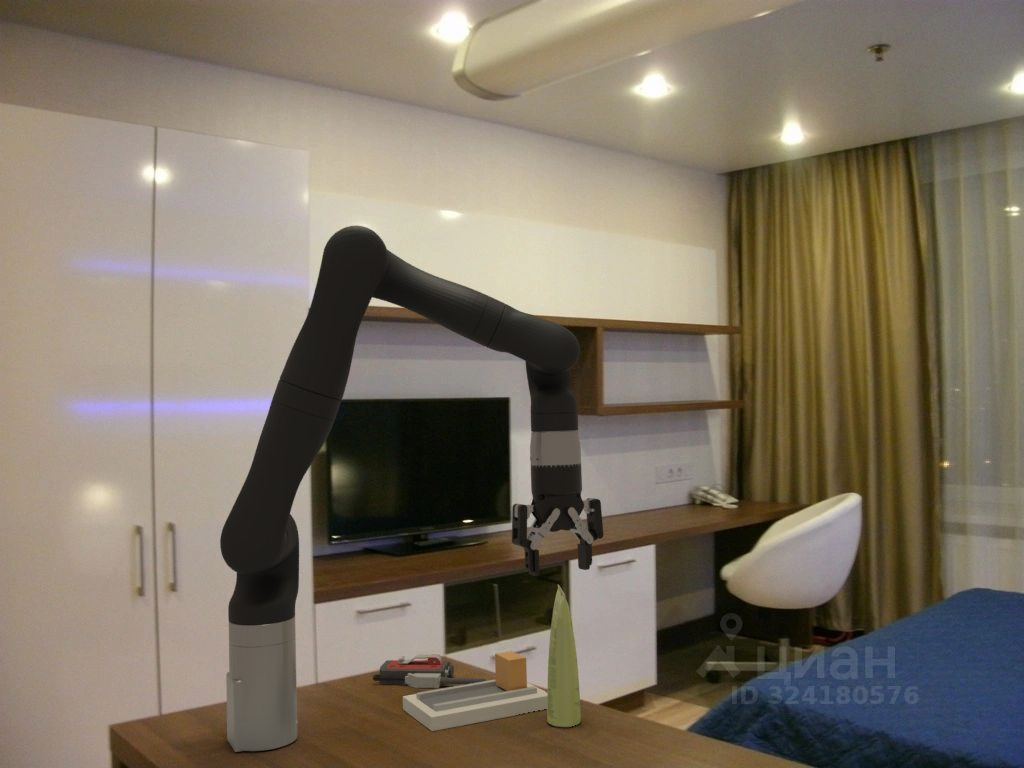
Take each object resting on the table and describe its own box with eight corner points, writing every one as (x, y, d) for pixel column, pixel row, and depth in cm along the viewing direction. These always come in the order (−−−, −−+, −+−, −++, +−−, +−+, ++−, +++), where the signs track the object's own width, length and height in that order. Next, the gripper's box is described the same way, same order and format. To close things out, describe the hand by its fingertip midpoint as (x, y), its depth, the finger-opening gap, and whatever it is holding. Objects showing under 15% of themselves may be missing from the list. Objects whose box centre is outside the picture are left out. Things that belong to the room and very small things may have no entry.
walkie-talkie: (368, 690, 156) (485, 691, 153) (368, 663, 156) (484, 664, 153) (382, 675, 164) (493, 676, 162) (382, 650, 164) (492, 651, 162)
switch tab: (510, 692, 143) (509, 660, 143) (495, 684, 147) (495, 653, 147) (527, 689, 144) (526, 657, 144) (512, 681, 148) (511, 651, 149)
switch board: (432, 731, 133) (431, 711, 133) (402, 709, 143) (402, 691, 144) (552, 708, 142) (551, 689, 142) (516, 689, 153) (516, 671, 153)
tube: (591, 722, 135) (587, 588, 135) (568, 731, 131) (564, 593, 132) (562, 714, 139) (558, 584, 139) (539, 723, 135) (535, 589, 136)
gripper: (525, 465, 130) (528, 580, 129) (610, 460, 136) (614, 570, 135) (501, 463, 136) (504, 573, 136) (583, 459, 143) (587, 564, 142)
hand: (559, 572), depth 136 cm, fingers open, 8 cm apart
